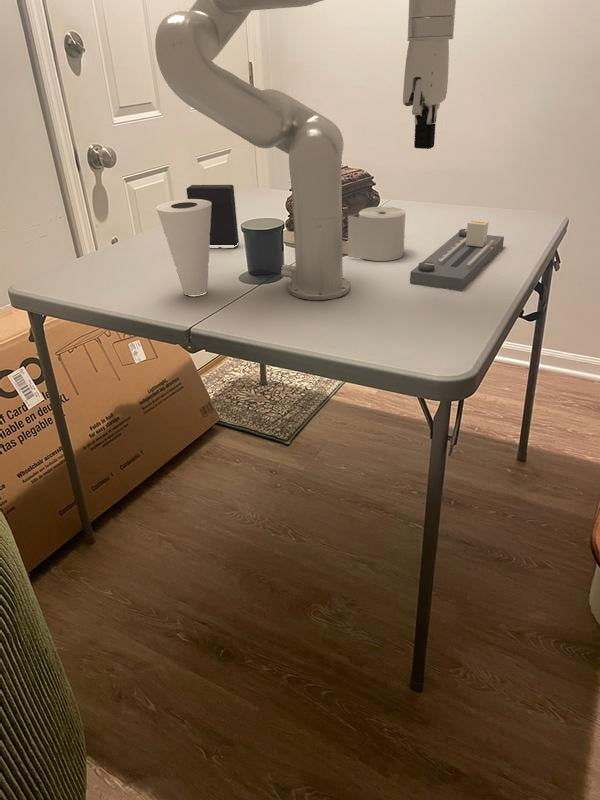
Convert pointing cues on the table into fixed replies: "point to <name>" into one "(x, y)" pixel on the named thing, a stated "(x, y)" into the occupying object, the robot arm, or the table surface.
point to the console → (455, 262)
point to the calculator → (219, 211)
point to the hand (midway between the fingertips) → (424, 147)
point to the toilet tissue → (377, 234)
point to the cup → (188, 240)
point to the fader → (476, 233)
